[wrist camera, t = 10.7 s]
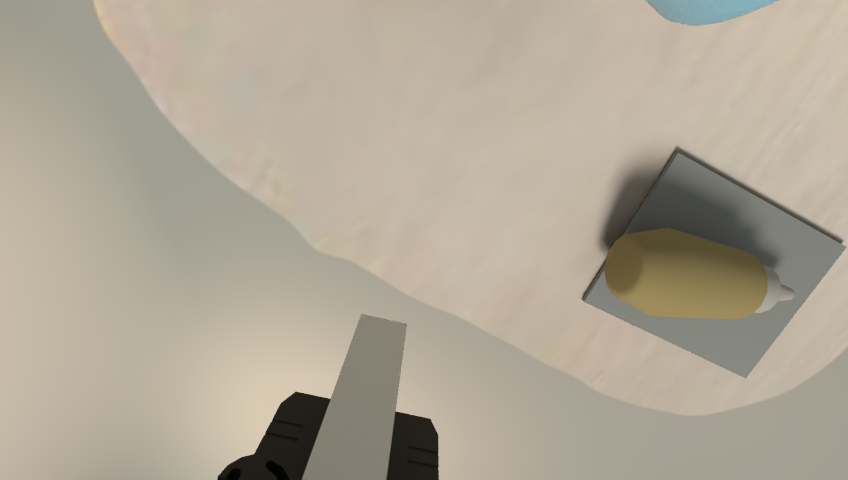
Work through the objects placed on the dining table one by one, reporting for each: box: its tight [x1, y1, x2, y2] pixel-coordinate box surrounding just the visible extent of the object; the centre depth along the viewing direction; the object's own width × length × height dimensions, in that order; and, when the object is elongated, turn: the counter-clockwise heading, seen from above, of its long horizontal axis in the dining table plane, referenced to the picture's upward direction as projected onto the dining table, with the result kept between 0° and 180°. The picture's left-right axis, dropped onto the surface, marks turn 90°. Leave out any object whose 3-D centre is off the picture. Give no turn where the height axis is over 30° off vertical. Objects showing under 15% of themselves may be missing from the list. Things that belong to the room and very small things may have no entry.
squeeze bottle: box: [605, 227, 795, 319], centre depth 40 cm, size 8×8×18 cm
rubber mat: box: [582, 152, 846, 378], centre depth 44 cm, size 16×21×1 cm
